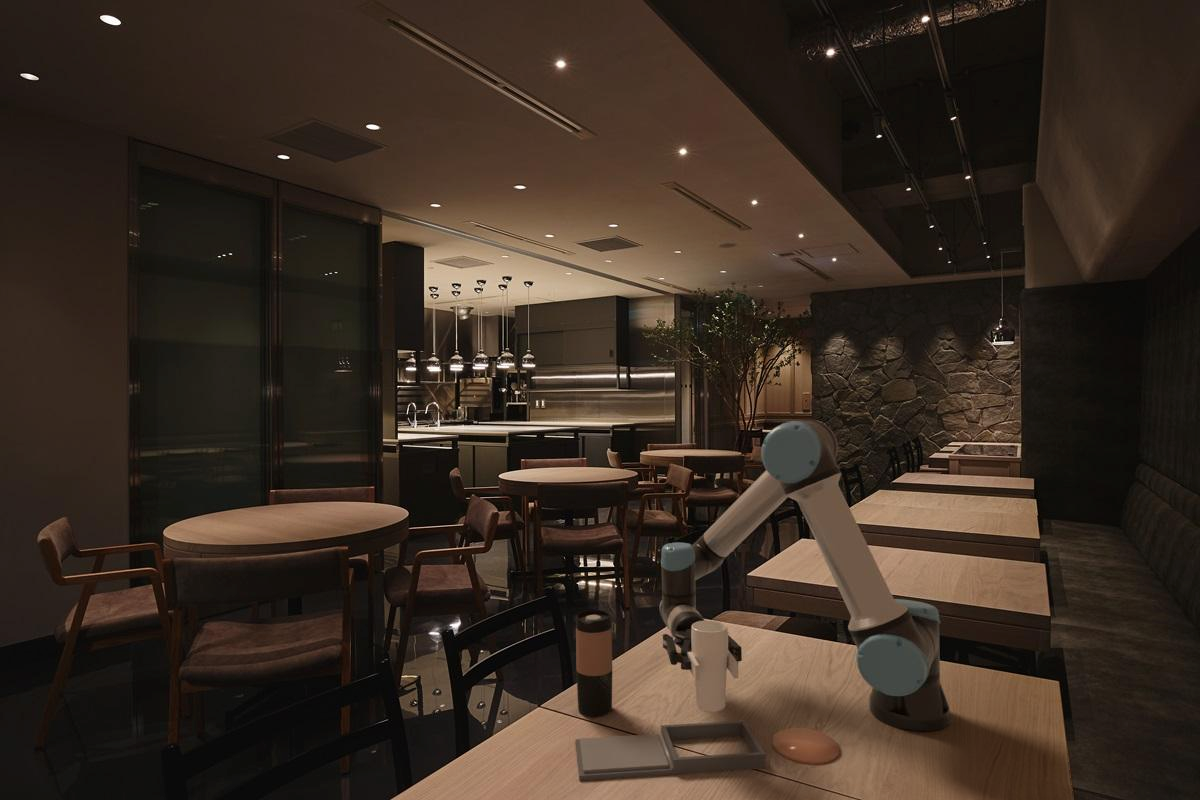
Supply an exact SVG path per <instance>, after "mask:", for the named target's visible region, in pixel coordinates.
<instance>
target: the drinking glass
mask: <svg viewBox="0 0 1200 800" xmlns="http://www.w3.org/2000/svg"><path fill="white" fill-rule="evenodd" d="M728 635H729V630H728V626H727V625H726V624H725V623H723V622H721V621H717V620H705V621H698V622H695V623H693V624H692V626H691V647H692V655H693V656H694V657H695V659H696V660H697V662H698V664H699V665H700V681H696V680H695V679H694V686H695V701H696V702H695V704H696V706H697V708H698V709H699V710H701V711H703V712H707V713H717V712H721V711H722V710H724V708H725V707H726V692H727V688H726V687H727V676H728V673H727V672H728V669H727V662H728Z"/></svg>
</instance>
